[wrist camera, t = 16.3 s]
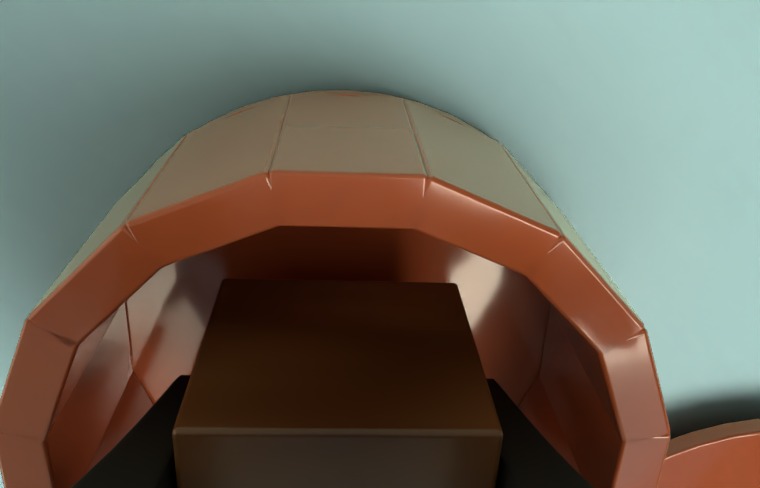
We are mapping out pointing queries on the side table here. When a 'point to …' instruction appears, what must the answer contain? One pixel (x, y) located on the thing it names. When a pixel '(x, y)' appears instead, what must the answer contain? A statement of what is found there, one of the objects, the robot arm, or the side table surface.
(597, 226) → the side table surface
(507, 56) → the side table surface
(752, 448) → the lid
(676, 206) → the side table surface
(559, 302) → the cup
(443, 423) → the block
